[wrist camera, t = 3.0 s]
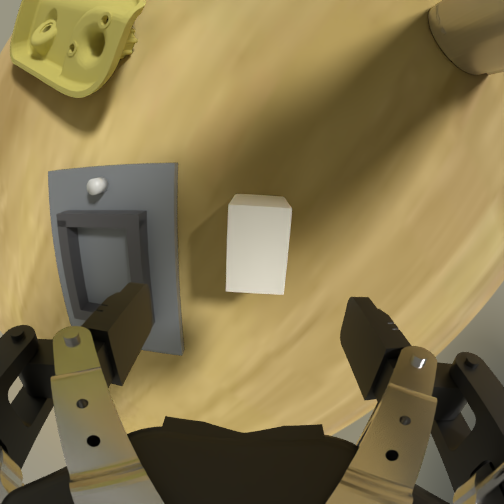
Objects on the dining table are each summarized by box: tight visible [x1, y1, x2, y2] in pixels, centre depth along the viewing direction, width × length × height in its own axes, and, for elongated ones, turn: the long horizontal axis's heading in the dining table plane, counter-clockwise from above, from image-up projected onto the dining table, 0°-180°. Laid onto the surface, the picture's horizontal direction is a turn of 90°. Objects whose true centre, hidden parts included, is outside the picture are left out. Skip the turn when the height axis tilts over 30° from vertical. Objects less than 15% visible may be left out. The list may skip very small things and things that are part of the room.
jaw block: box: [226, 194, 292, 295], centre depth 21 cm, size 4×6×6 cm, turn 177°
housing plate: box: [48, 163, 184, 356], centre depth 24 cm, size 14×19×3 cm
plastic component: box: [10, 0, 146, 98], centre depth 16 cm, size 20×7×10 cm
